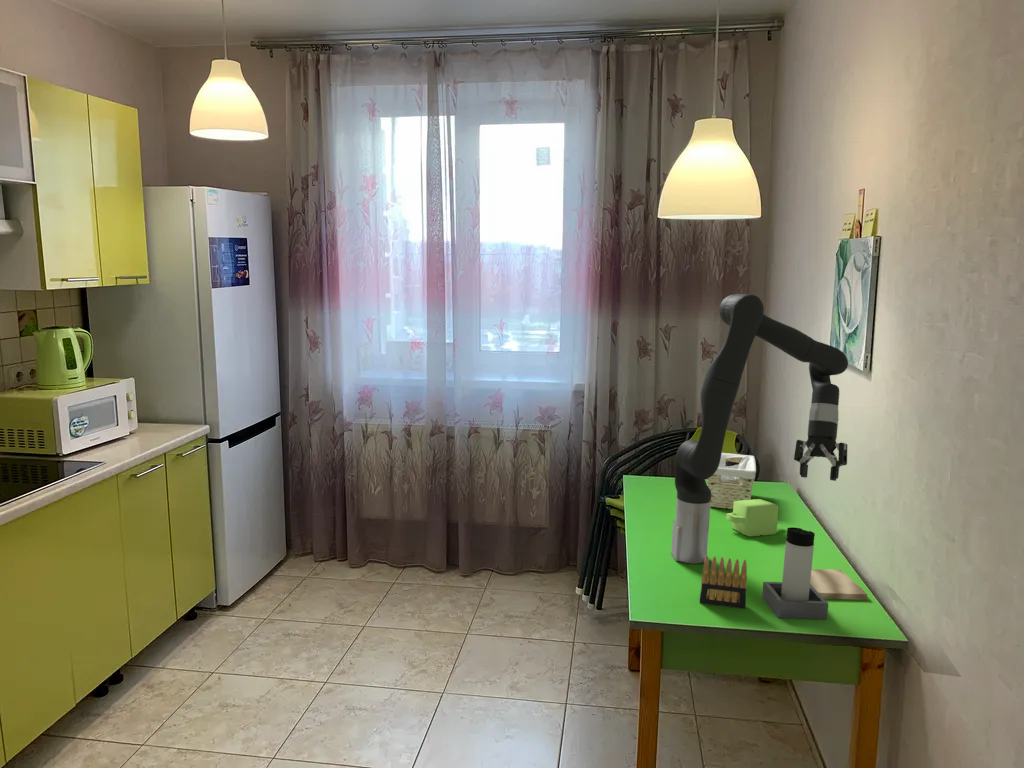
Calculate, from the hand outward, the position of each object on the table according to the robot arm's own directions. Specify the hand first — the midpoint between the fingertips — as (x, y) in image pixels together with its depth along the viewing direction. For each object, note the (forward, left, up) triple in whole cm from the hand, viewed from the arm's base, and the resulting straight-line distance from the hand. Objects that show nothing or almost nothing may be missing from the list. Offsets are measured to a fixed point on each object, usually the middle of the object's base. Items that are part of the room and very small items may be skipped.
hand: (818, 478), depth 207 cm
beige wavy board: (-2, -17, -24) cm, 29 cm away
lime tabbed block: (-8, +24, -24) cm, 35 cm away
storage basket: (-7, +54, -24) cm, 60 cm away
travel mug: (-16, -30, -24) cm, 42 cm away
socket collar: (-16, -30, -24) cm, 42 cm away
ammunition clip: (-33, -29, -24) cm, 50 cm away
